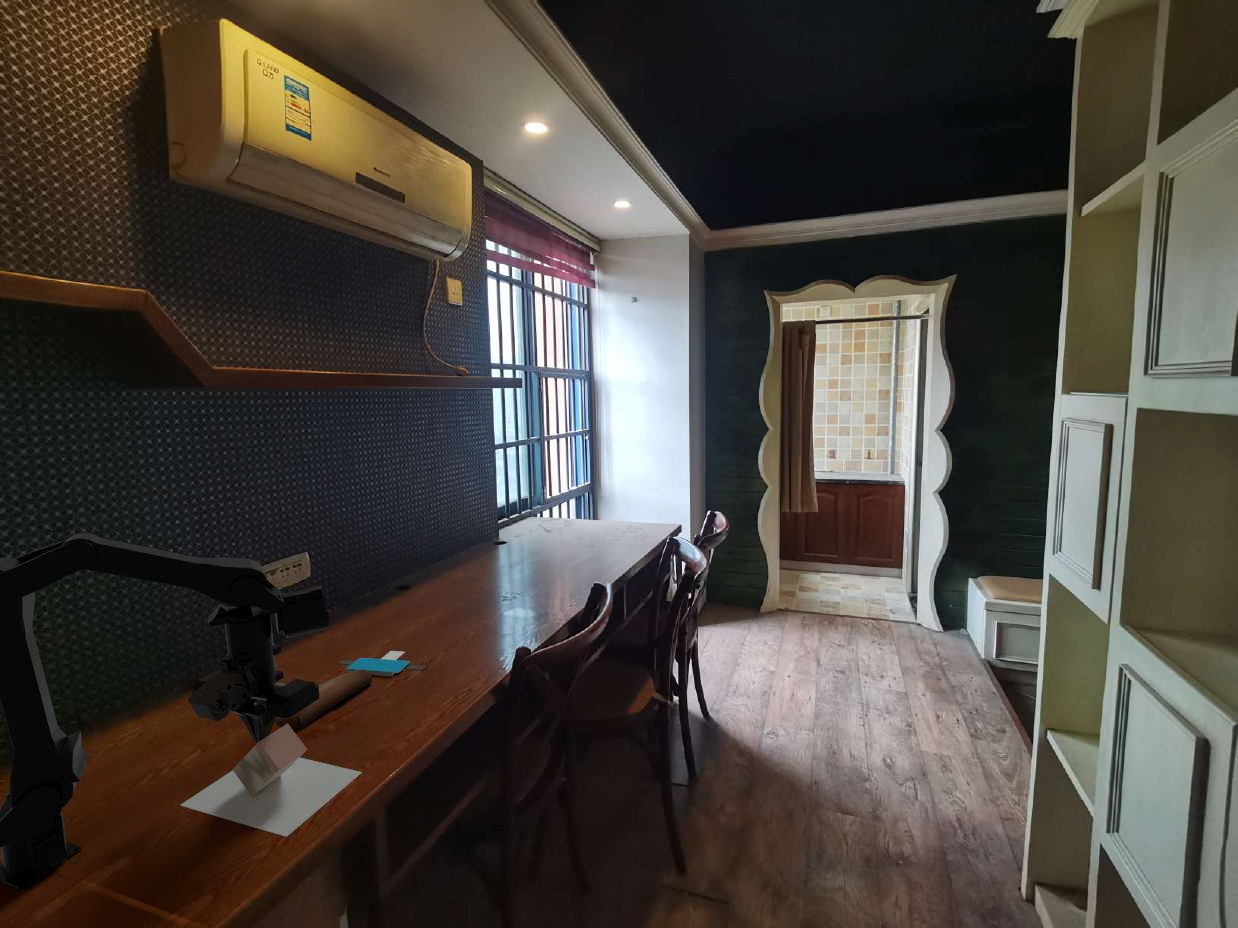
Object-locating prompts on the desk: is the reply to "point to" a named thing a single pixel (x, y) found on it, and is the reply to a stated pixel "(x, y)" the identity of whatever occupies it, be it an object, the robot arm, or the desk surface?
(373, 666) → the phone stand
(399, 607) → the desk surface
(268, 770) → the birch block
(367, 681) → the sunglasses case
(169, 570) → the robot arm
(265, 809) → the grey mat
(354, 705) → the desk surface
